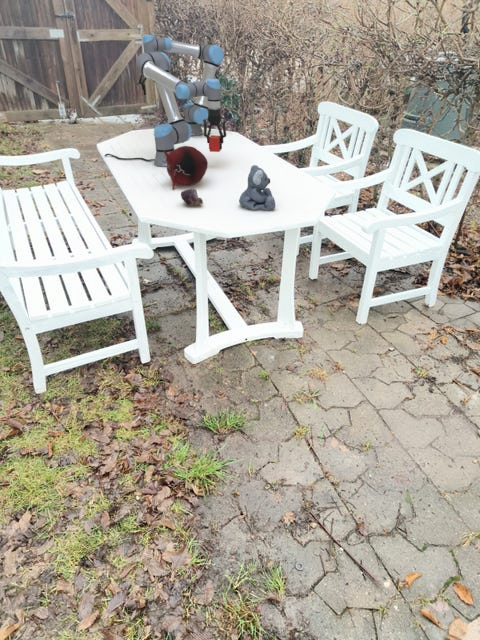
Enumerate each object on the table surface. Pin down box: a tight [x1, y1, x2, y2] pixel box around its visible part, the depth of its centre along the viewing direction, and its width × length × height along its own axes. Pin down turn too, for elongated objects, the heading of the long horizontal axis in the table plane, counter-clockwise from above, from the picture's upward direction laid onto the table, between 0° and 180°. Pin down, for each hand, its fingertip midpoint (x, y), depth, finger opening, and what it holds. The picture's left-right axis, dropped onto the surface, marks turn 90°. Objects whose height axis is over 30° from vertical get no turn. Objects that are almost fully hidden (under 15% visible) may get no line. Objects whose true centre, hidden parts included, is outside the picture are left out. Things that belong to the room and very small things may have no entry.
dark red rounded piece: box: [163, 145, 209, 190], centre depth 255 cm, size 21×24×25 cm
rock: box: [180, 188, 204, 207], centre depth 229 cm, size 12×9×10 cm
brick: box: [208, 134, 222, 153], centre depth 278 cm, size 7×6×8 cm
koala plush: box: [238, 164, 276, 211], centre depth 224 cm, size 17×18×20 cm
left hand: (215, 148), depth 280 cm, fingers closed on brick, 6 cm apart
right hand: (154, 95), depth 324 cm, fingers open, 13 cm apart
